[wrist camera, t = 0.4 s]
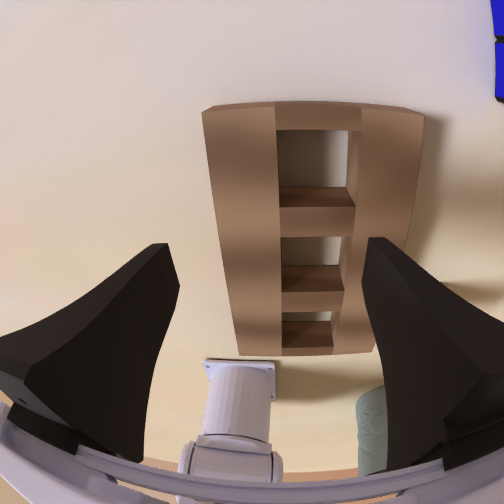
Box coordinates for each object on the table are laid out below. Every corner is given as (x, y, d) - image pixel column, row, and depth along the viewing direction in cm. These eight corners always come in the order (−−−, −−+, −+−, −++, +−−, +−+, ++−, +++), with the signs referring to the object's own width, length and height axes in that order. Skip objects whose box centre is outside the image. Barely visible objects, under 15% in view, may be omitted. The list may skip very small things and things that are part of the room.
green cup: (365, 382, 32) (376, 468, 23) (429, 377, 32) (447, 453, 22) (343, 414, 38) (347, 484, 28) (399, 409, 38) (409, 473, 28)
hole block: (366, 327, 26) (371, 352, 24) (242, 330, 27) (239, 355, 25) (403, 107, 15) (423, 115, 12) (213, 106, 16) (201, 112, 14)
